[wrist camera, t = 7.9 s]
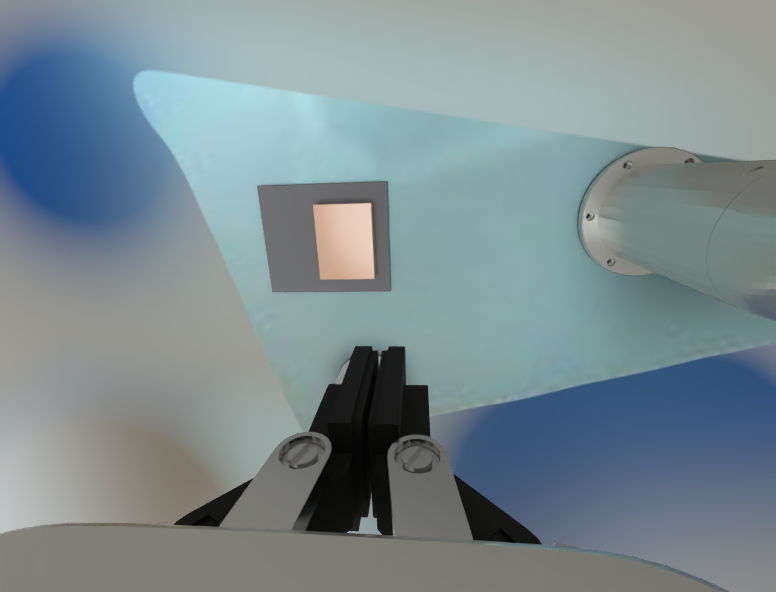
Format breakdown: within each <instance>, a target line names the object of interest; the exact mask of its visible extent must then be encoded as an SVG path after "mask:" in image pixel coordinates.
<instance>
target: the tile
mask: <svg viewBox="0 0 776 592" xmlns="http://www.w3.org/2000/svg"><path fill="white" fill-rule="evenodd" d="M313 210H314V220H315V231H316V241H317V251H318V261H319V271H320V280H328V279H375V276H376V264H375V242H374V220H373V202H358V203H323V204H314V205H313Z"/></svg>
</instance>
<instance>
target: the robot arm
mask: <svg viewBox="0 0 776 592" xmlns="http://www.w3.org/2000/svg"><path fill="white" fill-rule="evenodd" d="M684 162H685V163H684ZM624 163H625V167H624V168H623V164H624ZM587 214H589V216H588V218H586V215H587ZM578 231H579V236H580V240H581V243H582V245H583V247H584V249H585V251H586V252H587V253H588V255H589V256H590V257H591V259H593V260H594V261H595V262H596V263H597V264H599V265H600V266H602V267H604V268H605V269H607V270H610V271H612V272H615V273H617V274H622V275H628V276H643V275H649V274H654V273H656V274H659V275H661V276H664V277H666V278H668V279H671V280H673V281H676V282H678V283H680V284H683V285H685V286H687V287H690V288H692V289H695V290H697V291H699V292H702V293H704V294H706V295H709V296H711V297H714V298H716V299H718V300H721V301H723V302H726V303H728V304H730V305H733V306H735V307H738V308H741V309H743V310H745V311H748V312H750V313H753V314H755V315H758V316H761V317H764V318H767V319H771V320H775V321H776V160H760V161H733V162H707V163H703V162H702V161H701V160H700V159H699V158H698V157H697V156H695V155H693V154H691V153H689V152H687V151H685V150H681V149H678V148H673V147H654V148H647V149H642V150H638V151H634V152H632V153H630V154H627V155H625V156H623V157H621V158H619V159H618V160H616V161H615V162H613V163H611V164H610V165H609V166H608V167H607V168H605V169H604V170H603V171H602V172H601V173H600V174H599V175H598V176H597V178H596V179H595V180H594V181H593V182H592V184H591V185H590V187H589V189H588V190H587V192H586V194H585V196H584V198H583V201H582V204H581V206H580V211H579V217H578ZM608 260H609V262H607V261H608ZM371 493H372V505H373V517H374V518H377V528H378V530H379V531H380V533H381V534H382V535H373V534H354V533H347V532H348V531H359V526H360V520H361V517H368V513H369V507H370V500H371ZM0 592H729V591H727V590H725V589H723V588H721V587H719V586H717V585H715V584H713V583H711V582H708V581H706V580H704V579H701V578H698V577H696V576H693V575H690V574H688V573H685V572H683V571H680V570H678V569H675V568H672V567H670V566H667V565H663V564H660V563H656V562H652V561H648V560H644V559H641V558H638V557H634V556H629V555H624V554H618V553H612V552H607V551H602V550H592V549H582V548H577V547H574V546H570V545H566V544H562V543H558V542H555V543H554V546H551V545H542V544H541V543H540V541H539V540H538V538H537V537H536V536H534V535H533V534H532V533H531V532H530V531H529V530H528V529H527V528H525V527H524V526H523V525H521V524H520V523H519V522H517V521H516V520H515V519H513V518H512V517H510V516H509V515H508V514H507V513H505V512H504V511H503V510H501V509H500V508H498V507H497V506H496V505H494V504H493V503H492V502H490V501H489V500H488V499H486V498H485V497H484V496H482V495H481V494H480V493H478V492H477V491H476V490H474V489H473V488H471V487H470V486H469V485H468V484H466V483H465V482H464V481H462V480H461V479H460V478H458V477H457V476H456V475H454V474H453V472H452V469H451V465H450V462H449V459H448V456H447V452H446V451H445V449H444V447H443V446H442V445H441V444H440V443H439V442H438V441H437V440H435V439H433V438H431V437H430V422H429V400H428V385H406V369H405V347H389V348H388V351H382V355H381V360H380V365H379V359H378V351H372V346H355V348H354V351H353V354H352V356H351V359H350V362H349V365H348V367H347V370H346V373H345V375H344V378H343V381H342V384H329V385H328V387H327V389H326V392H325V394H324V396H323V399H322V401H321V404H320V406H319V408H318V411H317V413H316V415H315V418H314V420H313V422H312V425H311V427H310V429H309V432H303V433H297V434H295V435H292V436H290V437H288V438H286V439H285V440H283V441H282V442H281V443H280V444H279V445H278V446H277V447H276V448H275V450H274V451H273V453H272V454H271V456H270V457H269V458H268V459H267V461H266V462H265V464H264V465H263V466H262V468H261V469H260V471H259V472H258V473H257V475H256V476H255V477H254V478H253V479H251V480H249V481H247V482H246V483H244V484H242V485H240V486H238V487H236V488H234V489H233V490H231V491H229V492H227V493H225V494H223V495H222V496H220V497H218V498H216V499H214V500H212V501H211V502H209V503H207V504H205V505H203V506H202V507H200V508H198V509H196V510H194V511H192V512H191V513H189V514H187V515H186V516H184V517H183V518H181V519H180V520H178V521H177V522H176V523H175V524H174V525H168V522H165V523H158V524H137V523H63V524H50V525H40V526H34V527H29V528H23V529H17V530H12V531H8V532H4V533H1V534H0Z"/></svg>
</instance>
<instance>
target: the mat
mask: <svg viewBox="0 0 776 592" xmlns="http://www.w3.org/2000/svg"><path fill="white" fill-rule="evenodd" d="M257 188H258V195H259V202H260V209H261V216H262V223H263V230H264V237H265V243H266V250H267V257H268V264H269V271H270V278H271V285H272V292H359V291H391V279H390V249H389V219H388V188H387V182H361V183H331V184H302V185H273V186H257ZM358 202H373V220H374V242H375V264H376V276H375V279H328V280H320V271H319V261H318V251H317V241H316V231H315V220H314V210H313V205H314V204H323V203H358Z"/></svg>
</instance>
